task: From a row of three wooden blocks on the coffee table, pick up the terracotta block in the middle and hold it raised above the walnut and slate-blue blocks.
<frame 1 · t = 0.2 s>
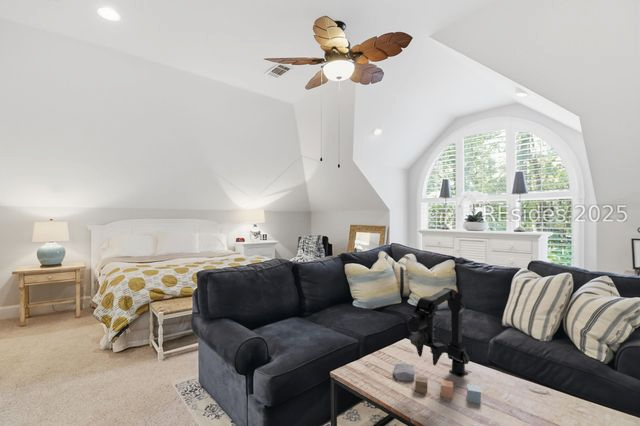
hand: (427, 360, 148), 14 cm above the table, tool pointing down, fingers open, 9 cm apart
terracotta block: (446, 394, 146), on the table
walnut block: (421, 389, 150), on the table
stone block: (403, 375, 163), on the table
slate blue block: (473, 399, 142), on the table
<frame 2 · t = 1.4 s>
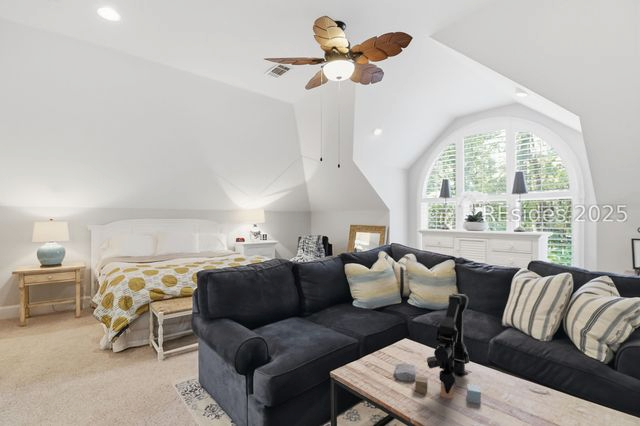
hand: (446, 387, 146), 3 cm above the table, tool pointing down, fingers open, 9 cm apart
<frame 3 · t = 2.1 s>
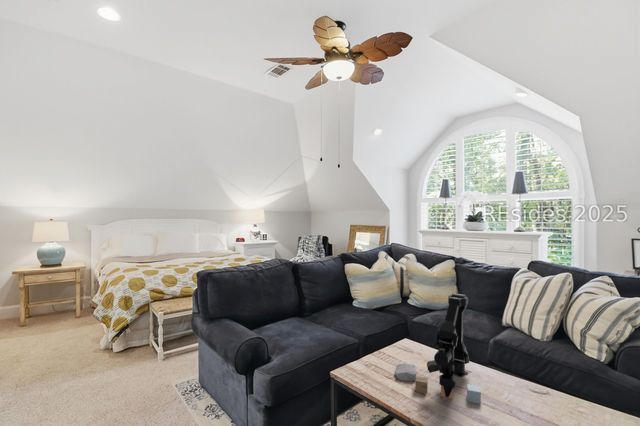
hand: (446, 392, 146), 1 cm above the table, tool pointing down, fingers open, 8 cm apart
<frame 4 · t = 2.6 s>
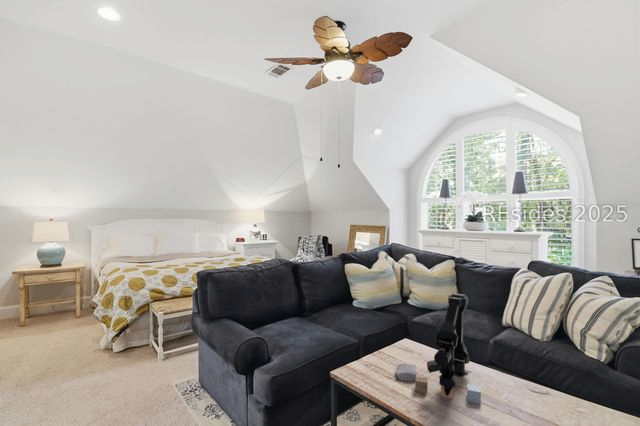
hand: (446, 392, 146), 1 cm above the table, tool pointing down, fingers closed on terracotta block, 5 cm apart
terracotta block: (446, 394, 146), on the table, touching gripper
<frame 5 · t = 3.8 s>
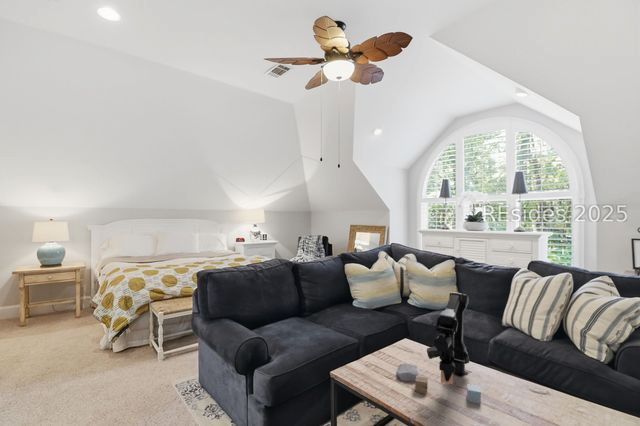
hand: (446, 378, 146), 7 cm above the table, tool pointing down, fingers closed on terracotta block, 5 cm apart
terracotta block: (446, 380, 146), point 6 cm above the table, touching gripper
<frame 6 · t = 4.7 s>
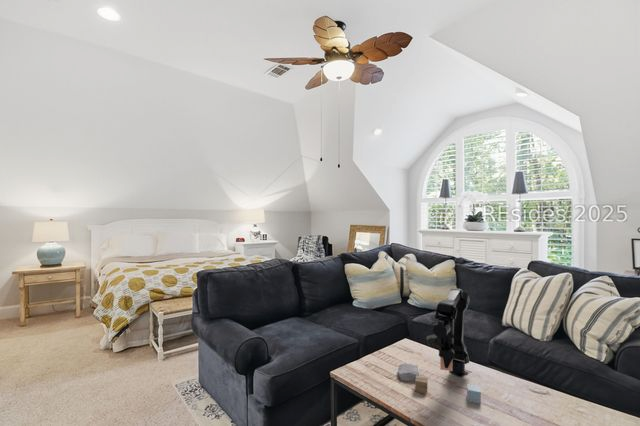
hand: (446, 365, 147), 12 cm above the table, tool pointing down, fingers closed on terracotta block, 5 cm apart
terracotta block: (446, 367, 147), point 11 cm above the table, touching gripper
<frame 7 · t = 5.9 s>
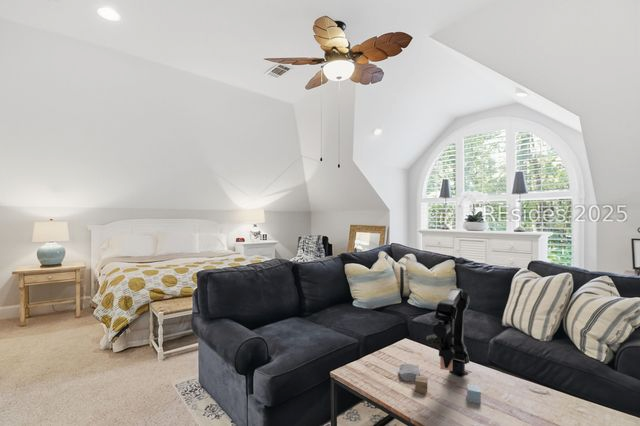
hand: (446, 364, 147), 12 cm above the table, tool pointing down, fingers closed on terracotta block, 5 cm apart
terracotta block: (446, 367, 147), point 11 cm above the table, touching gripper
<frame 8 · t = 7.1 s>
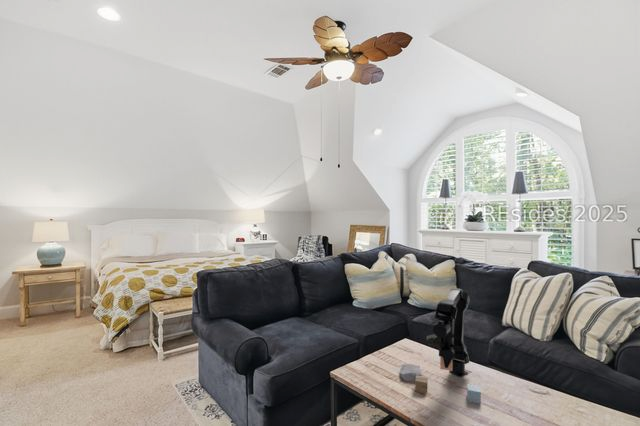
hand: (446, 364, 147), 12 cm above the table, tool pointing down, fingers closed on terracotta block, 5 cm apart
terracotta block: (446, 367, 147), point 11 cm above the table, touching gripper
at the end: terracotta block point 11.4 cm above the table; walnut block moved 0.1 cm from its start; slate blue block moved 0.1 cm from its start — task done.
